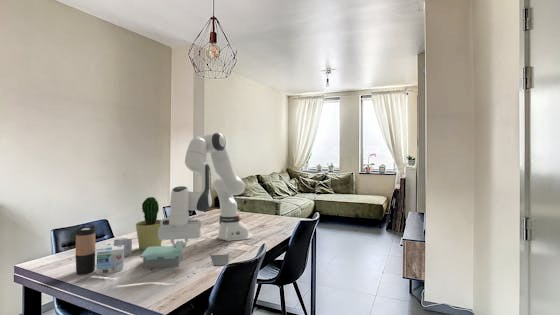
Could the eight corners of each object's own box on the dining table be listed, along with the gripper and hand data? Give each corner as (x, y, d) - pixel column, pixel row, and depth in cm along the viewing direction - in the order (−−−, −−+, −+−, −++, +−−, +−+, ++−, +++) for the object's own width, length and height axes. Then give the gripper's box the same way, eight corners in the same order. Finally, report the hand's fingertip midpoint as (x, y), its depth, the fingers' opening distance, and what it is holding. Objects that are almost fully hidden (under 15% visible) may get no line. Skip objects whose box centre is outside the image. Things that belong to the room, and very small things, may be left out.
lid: (184, 248, 157) (184, 237, 156) (180, 258, 143) (180, 246, 143) (148, 250, 154) (148, 239, 154) (139, 259, 140) (140, 247, 140)
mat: (228, 255, 163) (228, 254, 163) (228, 265, 148) (228, 264, 148) (192, 256, 160) (192, 255, 160) (188, 267, 145) (188, 266, 145)
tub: (182, 259, 155) (182, 248, 155) (178, 267, 144) (178, 255, 144) (149, 261, 152) (149, 249, 152) (143, 269, 142) (143, 256, 141)
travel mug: (80, 276, 133) (80, 231, 133) (72, 272, 137) (72, 228, 137) (98, 270, 139) (98, 227, 139) (90, 267, 143) (90, 225, 143)
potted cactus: (158, 242, 184) (158, 193, 183) (169, 248, 173) (169, 196, 172) (131, 247, 173) (131, 195, 173) (141, 254, 162) (141, 198, 162)
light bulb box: (95, 276, 134) (96, 251, 133) (98, 270, 140) (98, 247, 140) (123, 272, 138) (123, 248, 138) (124, 267, 144) (124, 244, 144)
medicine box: (132, 255, 161) (132, 238, 161) (125, 257, 157) (125, 241, 157) (120, 253, 164) (120, 237, 164) (113, 256, 159) (113, 239, 159)
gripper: (201, 217, 154) (201, 244, 154) (159, 218, 151) (159, 246, 151) (200, 220, 148) (200, 248, 148) (156, 221, 144) (156, 250, 145)
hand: (179, 247), depth 149 cm, fingers closed on lid, 3 cm apart
